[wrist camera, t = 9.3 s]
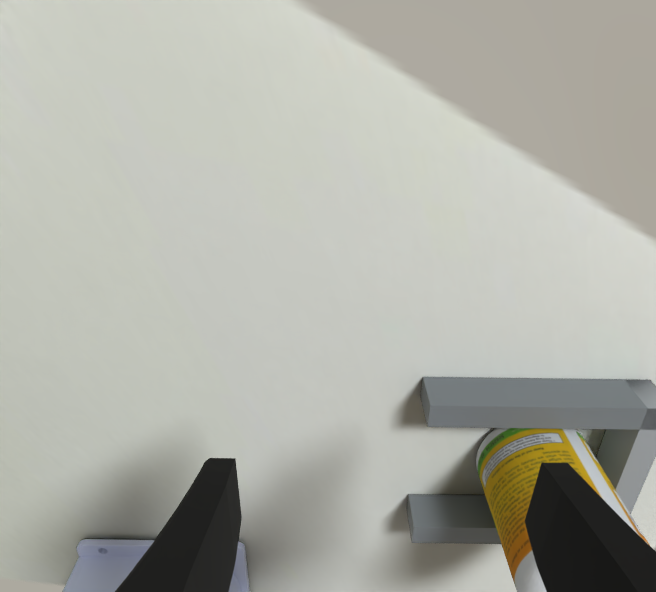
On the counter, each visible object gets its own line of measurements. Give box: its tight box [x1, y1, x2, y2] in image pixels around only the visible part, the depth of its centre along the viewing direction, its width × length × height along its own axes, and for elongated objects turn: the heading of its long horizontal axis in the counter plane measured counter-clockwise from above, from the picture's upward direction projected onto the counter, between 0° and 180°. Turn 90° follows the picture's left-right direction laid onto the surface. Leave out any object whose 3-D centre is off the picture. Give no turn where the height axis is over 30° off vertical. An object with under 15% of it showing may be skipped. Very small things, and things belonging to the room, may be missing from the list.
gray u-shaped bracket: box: [407, 377, 656, 544], centre depth 24 cm, size 10×9×2 cm
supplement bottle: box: [476, 428, 650, 592], centre depth 21 cm, size 5×5×10 cm
